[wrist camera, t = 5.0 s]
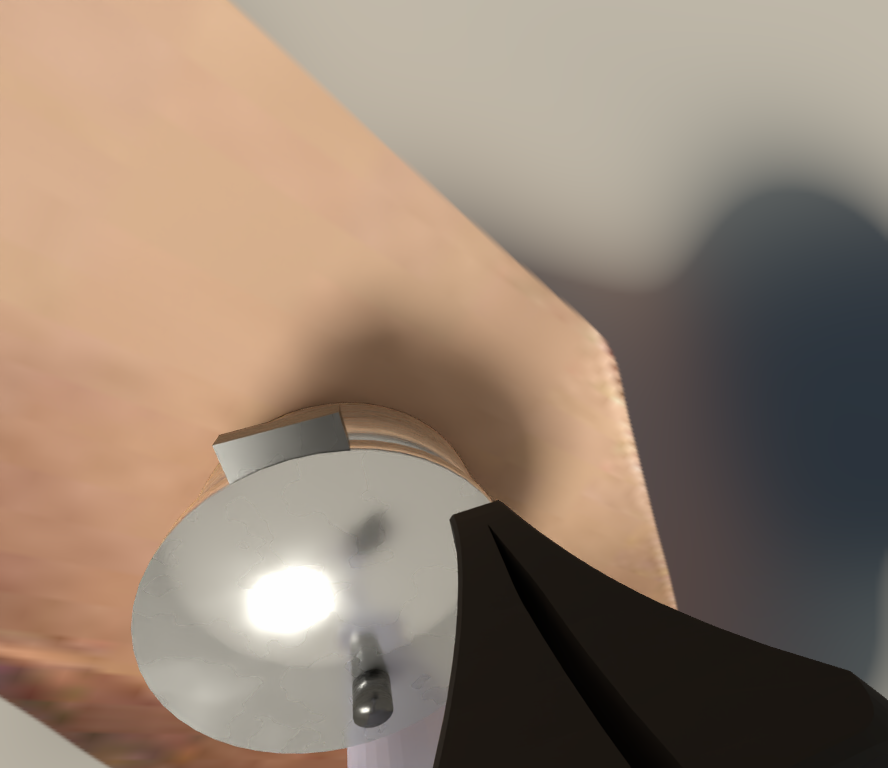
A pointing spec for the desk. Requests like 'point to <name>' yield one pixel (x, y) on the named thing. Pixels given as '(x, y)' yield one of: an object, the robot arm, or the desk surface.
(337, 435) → the lid
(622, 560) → the desk surface
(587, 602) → the robot arm
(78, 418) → the desk surface
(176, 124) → the desk surface
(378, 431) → the pot
